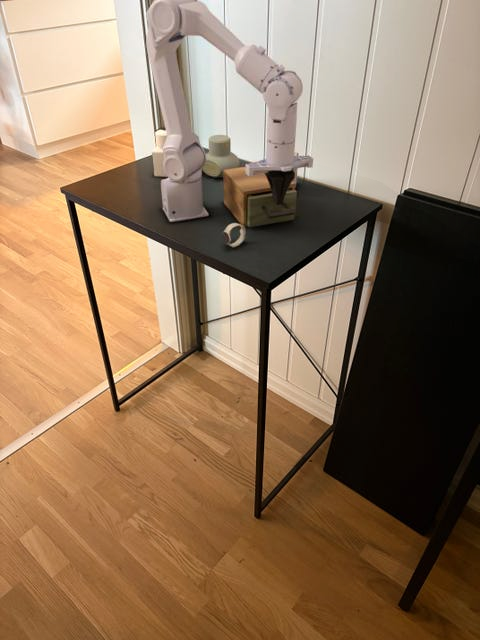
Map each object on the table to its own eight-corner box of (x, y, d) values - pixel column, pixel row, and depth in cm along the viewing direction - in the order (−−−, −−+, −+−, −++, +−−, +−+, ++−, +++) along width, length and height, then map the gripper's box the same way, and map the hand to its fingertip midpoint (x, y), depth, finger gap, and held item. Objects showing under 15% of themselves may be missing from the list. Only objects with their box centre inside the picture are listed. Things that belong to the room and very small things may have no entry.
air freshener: (196, 173, 138) (194, 137, 132) (215, 165, 143) (214, 130, 137) (225, 183, 133) (224, 146, 126) (244, 174, 138) (245, 138, 131)
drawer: (304, 228, 111) (306, 200, 106) (257, 237, 107) (258, 208, 103) (273, 198, 123) (274, 171, 119) (230, 204, 120) (230, 178, 116)
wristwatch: (221, 246, 106) (221, 225, 103) (239, 239, 109) (239, 218, 105) (229, 251, 104) (229, 230, 101) (248, 244, 107) (248, 223, 104)
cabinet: (292, 218, 117) (295, 183, 111) (243, 227, 113) (243, 191, 108) (270, 195, 127) (271, 163, 121) (223, 203, 123) (223, 169, 118)
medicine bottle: (160, 167, 142) (156, 124, 134) (185, 168, 141) (182, 125, 134) (154, 176, 136) (149, 132, 129) (179, 178, 136) (175, 133, 128)
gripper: (255, 150, 94) (253, 215, 102) (322, 141, 98) (316, 205, 106) (241, 139, 99) (241, 202, 107) (306, 131, 103) (301, 192, 111)
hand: (277, 202), depth 107 cm, fingers closed
